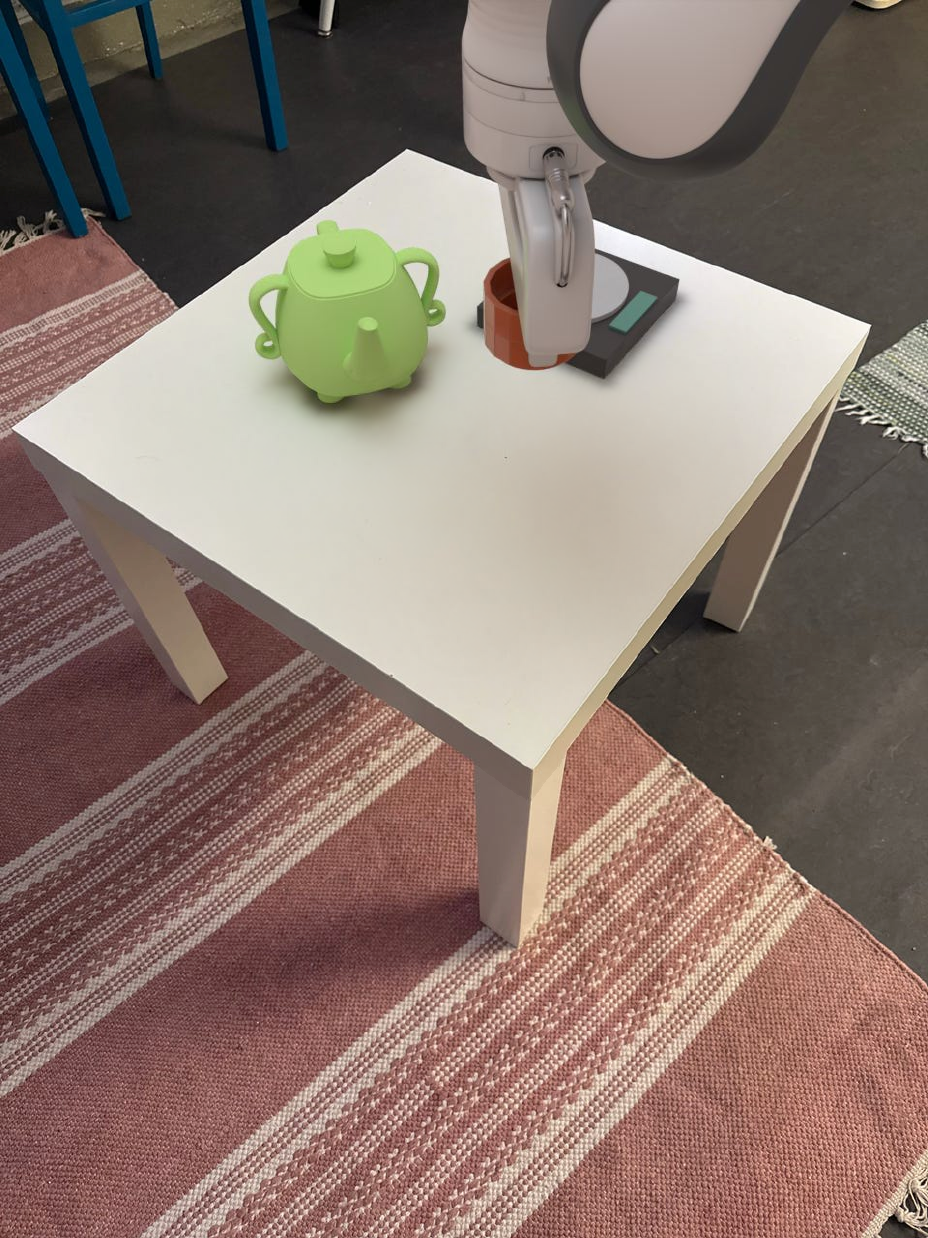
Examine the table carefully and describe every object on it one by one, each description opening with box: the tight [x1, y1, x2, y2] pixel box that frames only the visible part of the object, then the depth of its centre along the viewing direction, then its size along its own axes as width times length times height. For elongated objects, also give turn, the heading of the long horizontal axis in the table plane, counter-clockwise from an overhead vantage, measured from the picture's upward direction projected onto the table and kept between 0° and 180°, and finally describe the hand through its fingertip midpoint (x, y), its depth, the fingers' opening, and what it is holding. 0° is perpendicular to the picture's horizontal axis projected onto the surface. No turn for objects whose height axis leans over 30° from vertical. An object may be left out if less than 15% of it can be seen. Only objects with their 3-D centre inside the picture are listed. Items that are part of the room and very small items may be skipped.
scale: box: [476, 247, 680, 380], centre depth 88 cm, size 14×14×3 cm
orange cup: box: [482, 257, 578, 371], centre depth 61 cm, size 7×7×5 cm
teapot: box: [248, 219, 447, 404], centre depth 80 cm, size 16×14×13 cm
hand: (534, 319), depth 61 cm, fingers closed on orange cup, 7 cm apart
